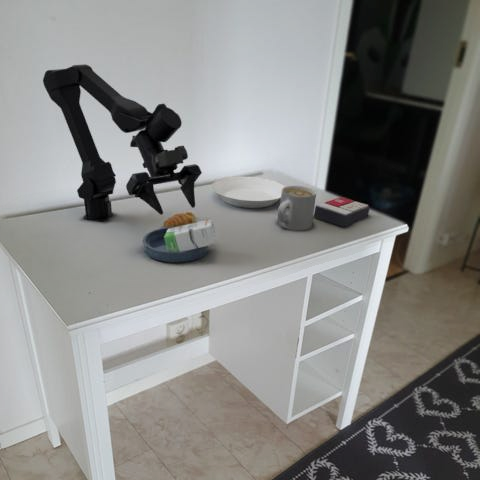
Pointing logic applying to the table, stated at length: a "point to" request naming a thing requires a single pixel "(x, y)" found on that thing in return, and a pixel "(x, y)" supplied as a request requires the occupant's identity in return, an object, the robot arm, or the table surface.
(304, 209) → the coffee mug
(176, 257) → the glazed bowl
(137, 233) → the table surface
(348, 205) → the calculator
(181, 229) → the ink box
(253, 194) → the bowl
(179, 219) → the pastry
